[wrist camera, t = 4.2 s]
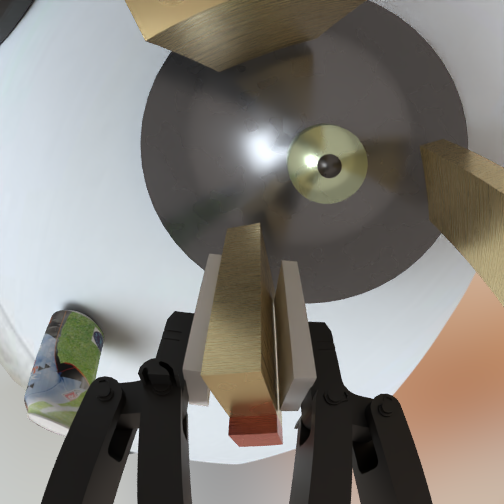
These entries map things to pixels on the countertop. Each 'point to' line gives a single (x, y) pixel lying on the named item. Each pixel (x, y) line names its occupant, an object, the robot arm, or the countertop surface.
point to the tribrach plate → (306, 152)
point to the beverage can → (63, 370)
